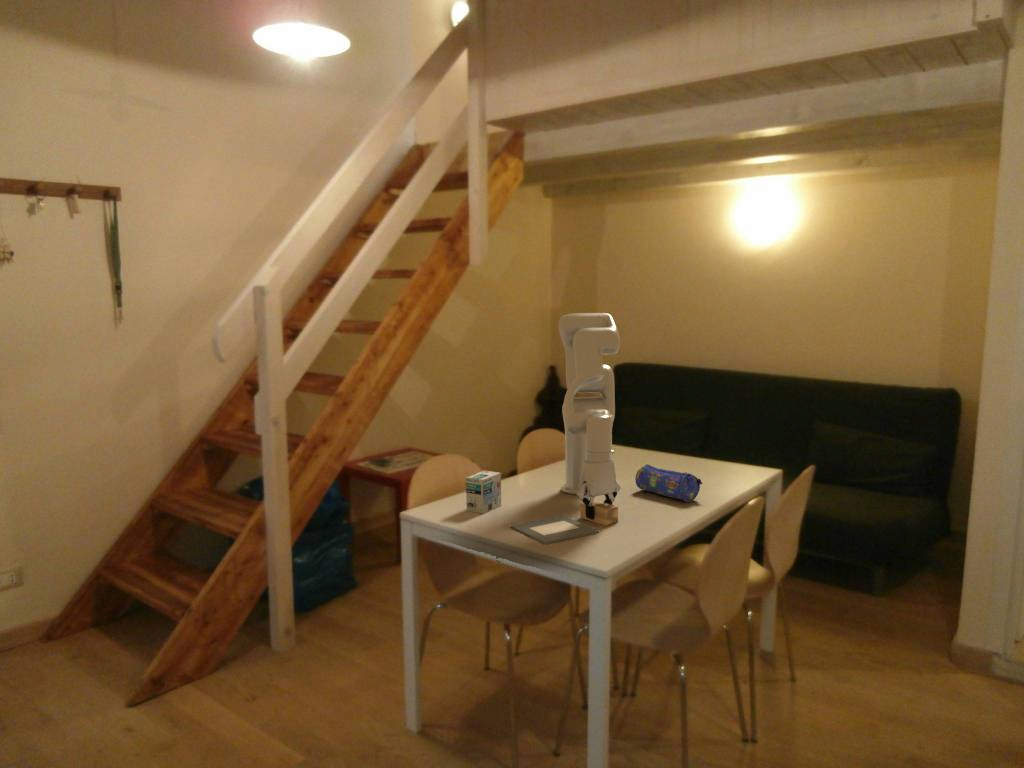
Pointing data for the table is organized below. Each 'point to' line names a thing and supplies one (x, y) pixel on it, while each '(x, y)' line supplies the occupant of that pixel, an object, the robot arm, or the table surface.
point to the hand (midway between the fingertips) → (599, 515)
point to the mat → (554, 529)
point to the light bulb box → (483, 491)
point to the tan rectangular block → (601, 513)
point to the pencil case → (668, 483)
